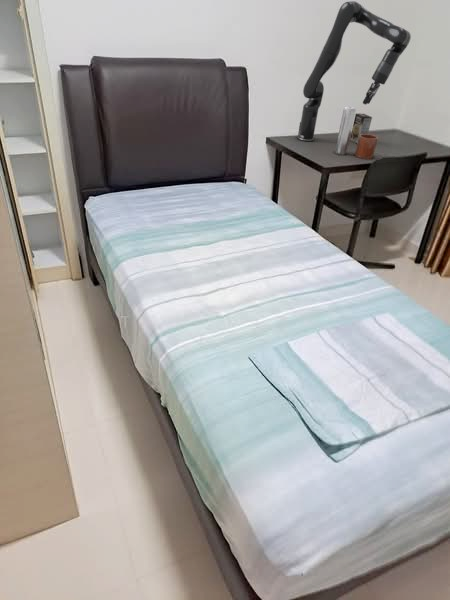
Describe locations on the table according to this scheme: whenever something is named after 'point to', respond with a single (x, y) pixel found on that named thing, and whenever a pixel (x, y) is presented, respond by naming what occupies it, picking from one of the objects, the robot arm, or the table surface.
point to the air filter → (345, 130)
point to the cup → (366, 146)
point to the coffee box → (360, 126)
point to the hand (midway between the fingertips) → (365, 103)
